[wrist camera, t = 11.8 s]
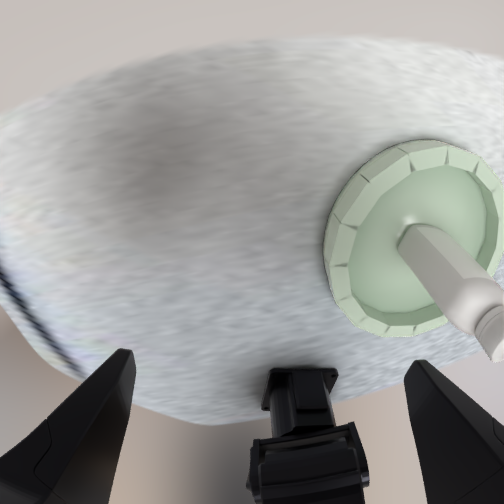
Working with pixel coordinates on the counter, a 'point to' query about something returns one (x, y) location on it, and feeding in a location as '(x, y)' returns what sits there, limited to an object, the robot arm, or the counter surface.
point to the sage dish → (396, 225)
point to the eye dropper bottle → (457, 285)
